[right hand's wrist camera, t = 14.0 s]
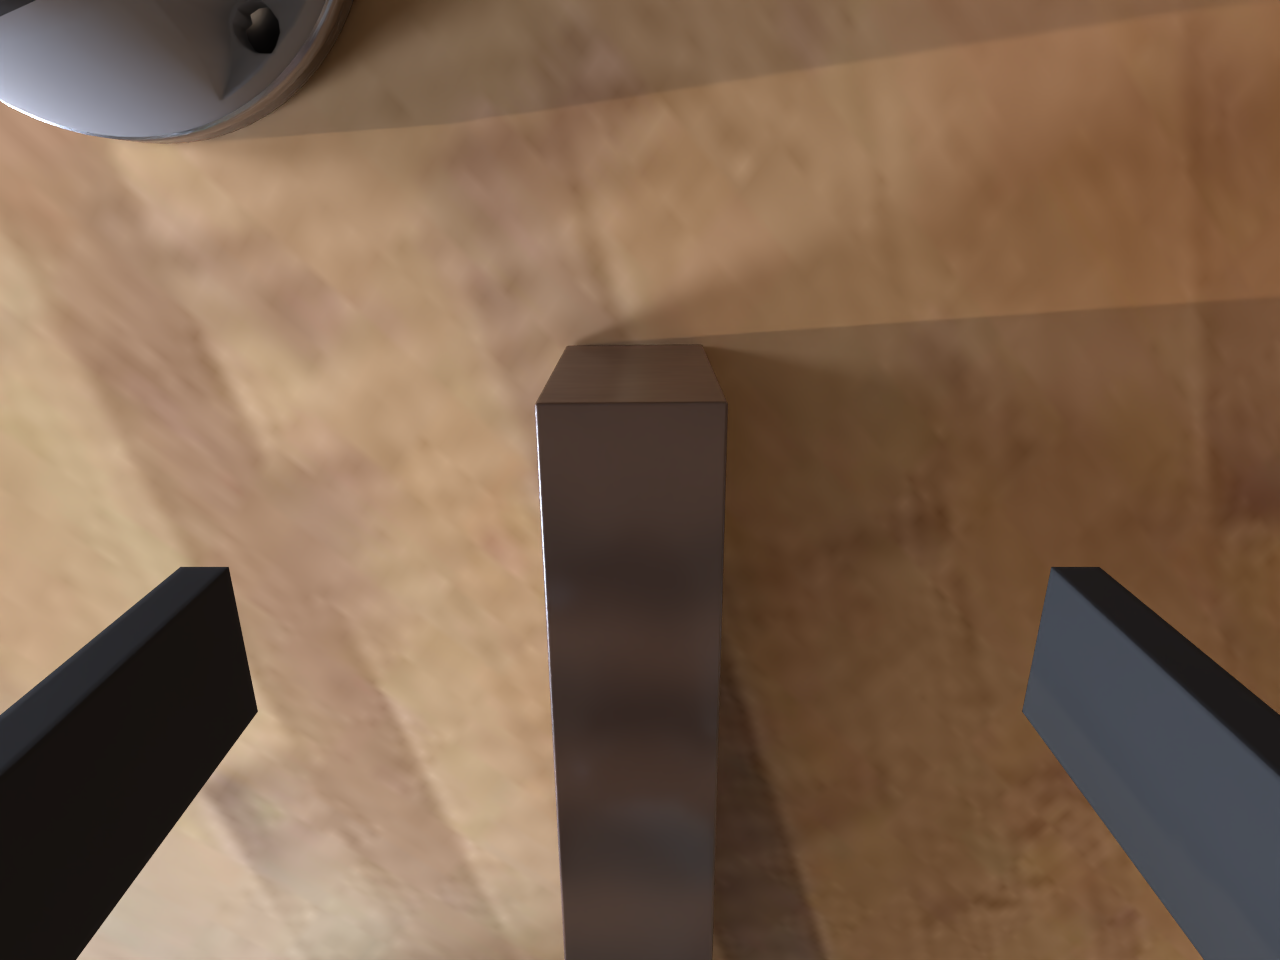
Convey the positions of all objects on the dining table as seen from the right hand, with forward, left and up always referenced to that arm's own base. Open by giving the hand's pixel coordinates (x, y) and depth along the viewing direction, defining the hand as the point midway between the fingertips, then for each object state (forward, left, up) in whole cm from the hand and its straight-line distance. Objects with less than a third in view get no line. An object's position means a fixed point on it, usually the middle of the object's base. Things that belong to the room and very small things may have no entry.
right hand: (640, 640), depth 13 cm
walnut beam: (0, -14, -18) cm, 22 cm away
